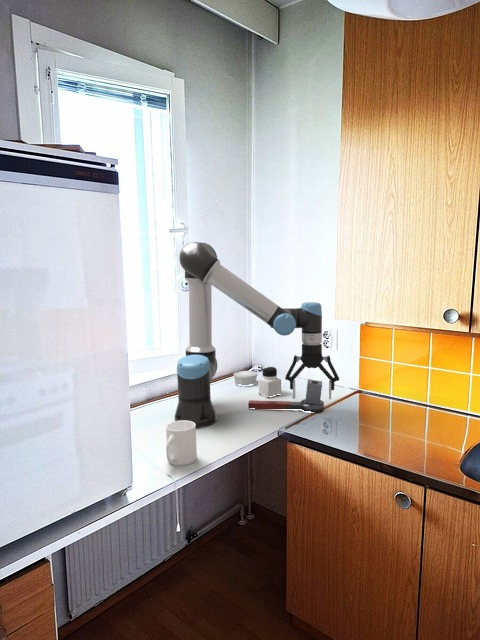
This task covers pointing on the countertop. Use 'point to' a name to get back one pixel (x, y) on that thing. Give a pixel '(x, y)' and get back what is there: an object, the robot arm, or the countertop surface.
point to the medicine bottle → (269, 382)
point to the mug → (181, 442)
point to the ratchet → (287, 405)
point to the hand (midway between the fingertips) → (312, 398)
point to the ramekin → (245, 377)
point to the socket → (313, 392)
